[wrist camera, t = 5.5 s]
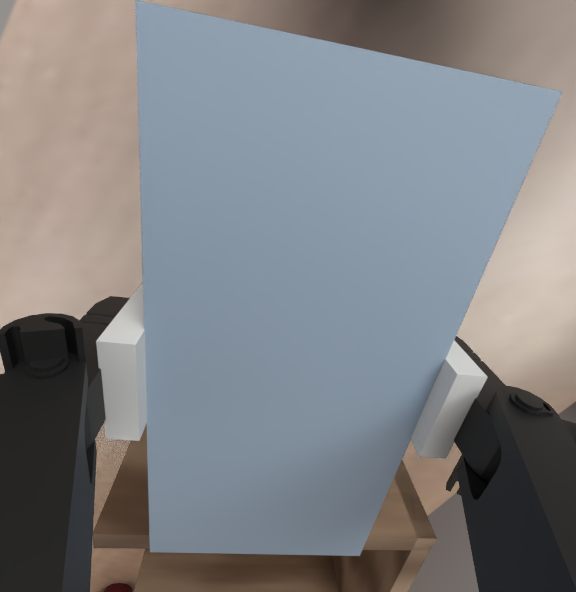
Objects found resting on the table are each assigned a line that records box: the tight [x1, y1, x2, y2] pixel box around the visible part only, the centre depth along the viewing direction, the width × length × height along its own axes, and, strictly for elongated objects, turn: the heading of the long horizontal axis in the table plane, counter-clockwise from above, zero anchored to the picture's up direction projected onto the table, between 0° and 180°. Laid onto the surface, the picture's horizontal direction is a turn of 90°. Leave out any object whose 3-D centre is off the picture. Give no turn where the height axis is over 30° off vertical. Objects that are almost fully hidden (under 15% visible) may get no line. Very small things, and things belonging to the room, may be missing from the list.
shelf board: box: [136, 0, 562, 556], centre depth 9 cm, size 14×7×2 cm, turn 171°
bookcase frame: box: [92, 423, 437, 592], centre depth 32 cm, size 18×19×20 cm
